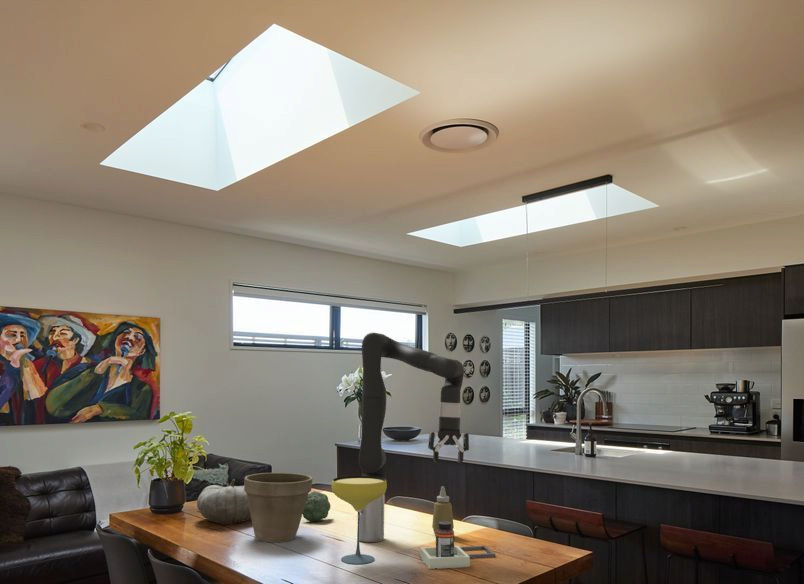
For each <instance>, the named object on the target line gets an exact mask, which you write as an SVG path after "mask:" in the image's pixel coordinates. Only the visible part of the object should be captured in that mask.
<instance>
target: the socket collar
mask: <svg viewBox="0 0 804 584" xmlns="http://www.w3.org/2000/svg"><path fill="white" fill-rule="evenodd" d="M459 547H460V548H461V549H462V550H463V551H464V552H465V551H481V550H483V551H485V552H486V553H466V554H467V555H468V556H470V559H482V558H496V553H495V552H494V551H493V550H491V549H490V548H489V547H487V546H486V545H471V546H469V545H468V546H467V545H466V546H459Z"/></svg>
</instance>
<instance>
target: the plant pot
mask: <svg viewBox="0 0 804 584" xmlns="http://www.w3.org/2000/svg"><path fill="white" fill-rule="evenodd" d="M313 480H314V479H313V477H312V476H311V475H308V474H303V473H293V472H292V473H291V472H261V473H253V474H248V475H246V476H245V477H244V481H243V482H244V485H243V486H244V491H245V492H246V493H247V498H248V504H249V509H250V514H251V523H252V529H253V533H254V537H255V539H256V540H258V541H261V542H265V543H282V542H289V541H291V540H293V539H296V537H297V533H298V531H299V528H300V524H301V521H302V517H303V511H304V507H305V504H306V500H307V497H308V494H309V493H311V492H312V486H313V485H312V484H313Z"/></svg>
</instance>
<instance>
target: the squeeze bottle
mask: <svg viewBox="0 0 804 584" xmlns="http://www.w3.org/2000/svg"><path fill="white" fill-rule="evenodd" d="M453 516H454V514H453V506H452V503H451V502H450V496H449V495H447V493H446V488H445V486H441V487H440V491H439V495H437V496H436V502H435V503H434V506H433V514H432V525H431V526H432V529H433V534H434V536H435V537H436V530H437V529H438V528H439V522H441V521H447V522H451V529H452V530H453V531H454V527H455V526H454V517H453Z"/></svg>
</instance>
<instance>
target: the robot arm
mask: <svg viewBox="0 0 804 584" xmlns="http://www.w3.org/2000/svg"><path fill="white" fill-rule="evenodd" d="M361 355H362V357H361V358H362V385H361V386H362V389H361V390H362V391H361V392H362V393H361V439H360V445H359V446H360V447H359V451H358V464H359V467H360V468H361V476H374V477H381V478H384V479H386V477H387V455H386V452H385V449H383V448H382V433H383V432H382V431H383V427H384V422H385V417H386V412H387V390H386V386H385V381H384V379H383V375H382V368H381V367H382V365H381V364H382V358H385V359H386V358H387V359H391V360H392V359H393V360H397V361H400V362H403V363H405V364H406V365H409V366H411V367H414V368H416V369H419V370H422V371H425V372H428V373H432V374H434V375H437V376H439V377H440V378H444V384H443V386H442V387H441V388H440V404H439V410H438V411H439V413H438V414H439V415H438V431H437V432H433V431H430V432H429V436H428V446H427V447H428V449H429V450H431V451H433V455H432V456H433V459H432V460H433V461H434V463H436V464H438V463H439V455H440V454H439V453H440V452H439V450H440V448H442V447H443V446H455V447H456V449H457V450H458V452H457V463H459V464H462V463H463V461H464V453H465V452H467V451H469V450H470V441H469V440H470V439H469V438H470V437H469V433H468V432H461V414H462V413H461V389H462V386H463V380H464V376H465V375H464V374H465V371H464V366H463V363H462V362H461V361H459V360H458V359H453V358H449V357H443V356H440V355H437V354H436V353H434V352H431V351H428V350H424V349H421V348H417V347H412V346H410V345H406V344H403V343H400V342H398V341H396V340H394V339H392V338H391V337H389V336H387V335H386V334H383V333H379V332H368V333H367V334H366V335H364V337H363V339H362V342H361ZM437 437H438V441H437V442H436V444H435V439H436V438H437ZM460 439H462V441H463V442H462V443H463V446H462V444H461V443H460V441H459V440H460ZM434 444H435V445H434ZM386 480H387V479H386ZM384 539H385V493H384V494H383V495H382V496H381V497H380V498H378V499H376V500H374V501H372V502H370V503H369V504H367V505H366V506H365V507H364V509H363V510H362V511H361V512H360V524H359V542H366V543H376V542H377V543H378V542H382V541H384Z"/></svg>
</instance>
